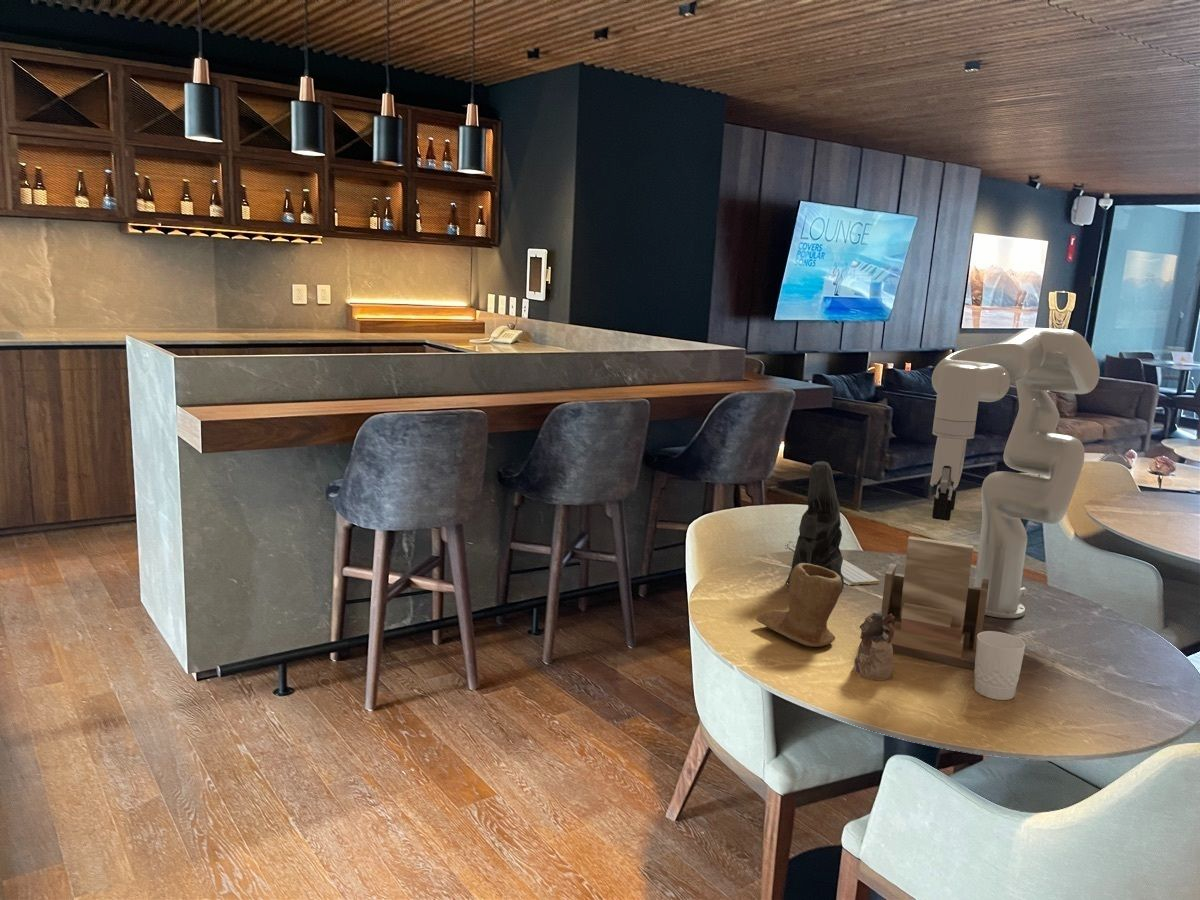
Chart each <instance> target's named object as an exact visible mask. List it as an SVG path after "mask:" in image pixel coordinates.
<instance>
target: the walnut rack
mask: <svg viewBox="0 0 1200 900" xmlns="http://www.w3.org/2000/svg"><path fill="white" fill-rule="evenodd" d="M884 573H885V574H884V584H883V585H884V586H883V593H882V603H881V611H880V612H882V614H883V617H884V618H885V617H886V616H888V615H890V614H893V616H894V619H893V620H892V621H891V622H890V623H891V625H892V626H894V624H895V622H896V621H897V622H901V620H900V610H901V601H902V592H903V583H904V574H901V573H897V563H889V565H888V568H887V570H886V571H885V572H884ZM988 585H989V580H988V579H982V585H981V588H979V587H974V585H969V587H968V595H967V603H966V611H965V619H964V627H963V631H962V634H964V635H965V636H964V644H963V651H962V656H961V658H957V657H952V656H947V655H942V654H937V653H932V652H927V651H923V650H918V649H913V648H908V647H903V646H898V645H893V644H892V648H893V654H897V655H902V656H905V657H906V656H907V657H911V658H916V659H922V660H924V661H925V660H926V661H931V662H935V663H940V664H945V665H948V666H949V665H950V666H955V667H960V668H965V669H969V670H974V671H975V656H976V643H977V635H978V634H979V633H980V632H984V631H983V630H984V622H985V616H986V615H985V608H986V600H987V592H988ZM883 632H884V633H885V634H887V635H888V636H890V632H889V631H888V630H884V631H883Z"/></svg>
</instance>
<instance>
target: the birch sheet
mask: <svg viewBox="0 0 1200 900" xmlns="http://www.w3.org/2000/svg"><path fill="white" fill-rule="evenodd" d="M973 553H974V545H971V544H970V545H969V544H964V543H963V544H962V543H957V542H950V541H946V540H945V541H943V540H937V539H930V538H924V537H919V536H918V537H917V536H912V535H911V536H910V535H909V536H908V539H907V547H906V557H905V567H904V574H903V575H904V583H903V592H902V601H901V610H900V620H902V618H901V616H902V608H903V606H904V603H908V604H914V605H919V606H925V607H930V608H936V609H941V610H947V611H952V612H953V614H952V620H954V621H959V622H963V627H964V619H965V611H966V603H967V595H968V587H969V586H970V577H971V570H972V562H973V555H974V554H973ZM962 631H963V629H962Z"/></svg>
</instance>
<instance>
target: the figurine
mask: <svg viewBox="0 0 1200 900" xmlns="http://www.w3.org/2000/svg"><path fill="white" fill-rule="evenodd" d="M893 619H894V616H893V614H890V615H888V616H886V617H885V618H884V617H883V614H882V612H881V611H880V610H875V611H873V612H871V613H870V614H868V615H867V616H866V617H865V618H864V621H863V623H861V624H860V625H859V629H860V631H861V632H860V639H861V641H860V643H859V646H858V649H857V653H856V656H855V659H854V662H853V667H852V670H853V671H854V672H855V675H857V676H859V677H860V678H863V679H867V680H871V681H884V680H885V681H886V680H889V679H891V678H892V676H893V673H894V670H895V669H894V668H895V663H894V662H895V661H894V660H895V659H894V653H893V648H892V644H891V640H892V638H893V635H894V629H893V626H892V625H891V623H890V622H891V621H892V620H893ZM884 630H888V631H889V632H890V636H888V635H887V634H885V633H884V632H883V631H884Z"/></svg>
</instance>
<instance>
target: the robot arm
mask: <svg viewBox="0 0 1200 900" xmlns="http://www.w3.org/2000/svg"><path fill="white" fill-rule="evenodd" d="M1100 373H1101V372H1100V366H1099V362H1098V359H1097V357H1096V356H1095V354H1094V352H1093V350H1092V348H1091V347H1090V344H1089V343H1088V341H1087V340H1086V338H1085V337H1084V336H1082V335H1081V333H1079V332H1077V331H1075V330H1072V329H1062V328H1061V329H1059V328H1047V327H1045V328H1044V327H1028V328H1024V329H1021V330H1019V331H1018V332H1016V333H1014V334H1012V335H1011V336H1009V337H1008V338H1006V339H1004V340H1002V341H1001V342H998V343H991V344H986V345H982V346H976V347H971V348H966V349H961V350H958V351H955V352H953V353H951V354H949V355H947V356H945V357H944V358H942V359H941V360H939V362H938V363H937V364H936V366H935V367H934V370H933V371H932V375H931V384H932V388H933V391H935V392H936V401H935V407H934V408H935V409H934V418H933V424H932V432H931V433H932V435H934V436H937V438H936V442H935V448H934V453H933V460H932V461H933V463H932V470H931V474H930V475H931V476H930V477H931V478H930V483H929V484H930V486H931V487H934V486H935V485H937V486H936V493H935V497H934V500H933V509H932V515H931V517H932V519H935V520H938V521H947V522H949V521H950V520H951V515H952V514H951V513H952V511H954V509H955V504H956V496H957V490H956V489H957V488H958V487H959V486H958V485H959V483H960V480H961V477H962V472H963V467H964V461H965V454H966V449H967V441H968V440H971V439H974V438H975V431H976V424H977V423H976V422H977V415H978V408H979V402H985V403H993V402H997V401H1000V400H1001V399H1003V398H1004V397H1005V395H1007V393H1008V392H1009V390H1010V386H1011V382H1014V381H1015V382H1014V383H1015V386H1016V387H1015V388H1016V392H1017V399H1018V411H1017V415H1016V417H1015V420H1014V423H1013V425H1012V429H1011V431H1010V433H1009V436H1008V439H1007V442H1006V445H1005V447H1004V451H1003V462H1004V464H1005V465H1006V466H1007V467H1008V468H1010V469H1013V470H1016V471H1019V473H1018V472H1013V471H1006V470H1005V471H1002V470H1001V471H1000V470H999V471H994V472H991V473H989V474H988V475H987V476H986V477H985V478H984V480H983V482H982V486H981V489H980V490H981V492H980V493H981V494H980V496H981V497H980V498H981V510H982V514H981V515H982V516H981V518H982V519H981V526H980V527H981V529H980V535H979V545H978V551H977V559H976V567H975V568H976V569H975V575H974V584H973V587H979V588H981V585H982V579H988V580H989V585H988V592H987V600H986V608H985V615H984V616H988V617H994V618H999V619H1015V618H1016V619H1017V618H1021V617H1023V616H1025V613H1026V608H1025V606H1024V604H1022V603H1020V599H1021V597H1024V596H1027V595H1028V592H1029V591H1028V589H1027V588H1026V587H1024V586H1023V587H1022V580H1023V574H1024V573H1023V572H1024V567H1025V558H1026V553H1027V552H1026V551H1027V546H1028V545H1027V544H1028V533H1027V530H1026V527H1025V525H1024V524H1023V521H1022V520H1021V519H1023V520H1029V521H1031V522H1038V523H1042V524H1047V525H1054V524H1058V523H1060V522H1061V521H1062V520H1063V519H1064V518H1065V516H1066V513H1067V511H1068V509H1069V506H1070V503H1071V501H1072V498H1073V496H1074V492H1075V490H1076V487H1077V483H1078V481H1079V479H1080V475H1081V473H1082V470H1083V465H1084V462H1085V447H1084V444H1083V443H1082V441H1081V440H1080V439H1079V438H1076V437H1075V436H1071V435H1068V434H1067V435H1066V434H1062V433H1061V434H1060V433H1056V430H1057V426H1058V425H1059V421H1060V418H1061V416H1060V412H1059V410H1058V408H1057V406H1056V403H1055V402H1054V401H1053V399H1052V398H1051V397H1050V394H1049V393H1048V391H1049V392H1056V393H1066V394H1073V395H1074V394H1075V395H1085V394H1088V393H1091V392H1092V391H1093V390H1094V389H1095V388H1096V386H1097V385H1098V383H1099V380H1100ZM1020 472H1024V473H1028V474H1024V473H1020ZM1030 474H1033V475H1030ZM1034 475H1039V476H1045V477H1049V478H1044V477H1039V476H1034Z"/></svg>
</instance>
